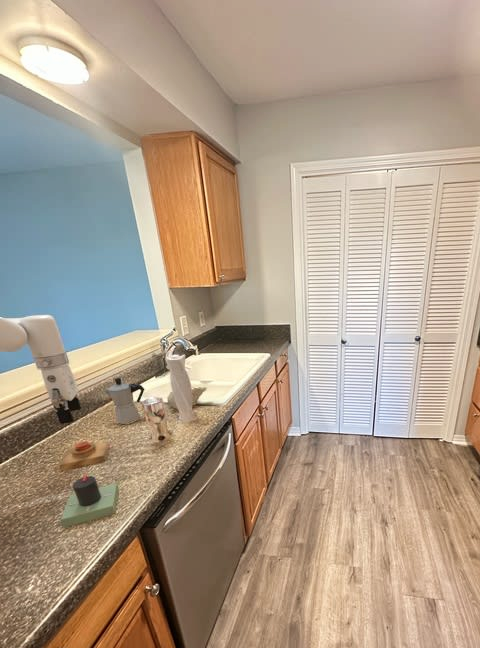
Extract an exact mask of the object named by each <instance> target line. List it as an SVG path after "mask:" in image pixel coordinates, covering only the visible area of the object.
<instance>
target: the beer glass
mask: <svg viewBox="0 0 480 648" xmlns="http://www.w3.org/2000/svg"><path fill="white" fill-rule="evenodd" d="M141 403H142V404H141V405H142V412H143V416H144V419H145V421H146V423H147V425H148V427H149V430H150V432H151V440H152V443H153V442H154V443H153V444H156V443H160V444H164V443H167V442H169V441H170V440H171V437H172V436H171V434H170V432H169V429H168V413H167V408H166V405H165V401H164V399H163V397H160V396H154V397H149V398H146V399H144V400H142V402H141ZM169 439H170V440H169ZM166 441H167V442H166ZM163 442H164V443H163Z"/></svg>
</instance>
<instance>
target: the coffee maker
mask: <svg viewBox="0 0 480 648" xmlns="http://www.w3.org/2000/svg"><path fill="white" fill-rule="evenodd" d="M121 378H122V377H115V378H114V382H115V384H114V385H112V386H110V387H108V388H106V389H105V388H104V389H103V390H102V392H104V393H105V394H106V395H107V396H108V397H109V398H111V400H112V402H113V404H114V406H115V417H116V423H117V422H118V423H121V424H124V423H131V422H133V421H135V420H138V419H139V417H140V418H141V415H140V413H139V411H138V409H137V407H136V405H135V403H134V393H135V392H137V391H139V390H140V391H139V395H138V397H137V399H136V402H137V404H139V403H140V402H141V399H142V397H143V394H144V392H145V390H146V389H145V388H144V387H143V385H142V384H136V383H135V382H133V383H122V379H121ZM139 420H140V419H139Z"/></svg>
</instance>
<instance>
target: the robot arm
mask: <svg viewBox="0 0 480 648" xmlns="http://www.w3.org/2000/svg"><path fill="white" fill-rule="evenodd" d="M26 345H27V346H28V347H29V350H30V353H31V355H32V359H33V361H34V364H35V367H36V369H37V370H39V371H41V375H42V380H43V382H44V386H45V389H46V392H47V395H48V397H49V399H50V401H51V404H52V407H53V409H54V411H55V413H56V416H57V419H58V421H59V424H60V425H64V424H70V423H73V422H74V417H73V414H72V412H74V411H79V410H81V409H82V406H81V403H80V401H79V397H78V393H79V387H78V384H77V381H76V378H75V377H74V374H73V372H72V370H71V367H70V360H69V357H68V353H67V352H66V349H65V346H64V342H63V339H62V336H61V333H60V329H59V327H58V325H57V321H56V319H55V317H54V316H53V315H51V314H36V315H35V314H34V315H27V316H24V317H15V318H14V317H7V318H6V317H2V316H0V352H5V353H13V352H18V351H20V350H22V349H23V348H25V346H26Z"/></svg>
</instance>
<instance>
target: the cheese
mask: <svg viewBox="0 0 480 648" xmlns="http://www.w3.org/2000/svg"><path fill="white" fill-rule="evenodd" d="M191 388H192V407H194V406H196V405H197V403H198V401H199V399H200V397H201V396H202V395H203V393H205V392H206V391H207V389H208V388H207V387H205V386H203V387H201V386H198V387H194V386H191ZM167 403H168V406H170V407H172V408H174V409H175V410H178V408H177V405H176V402H175V399H174V396H173V392H172V391H170V392H169V394H168V395H167Z"/></svg>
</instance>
